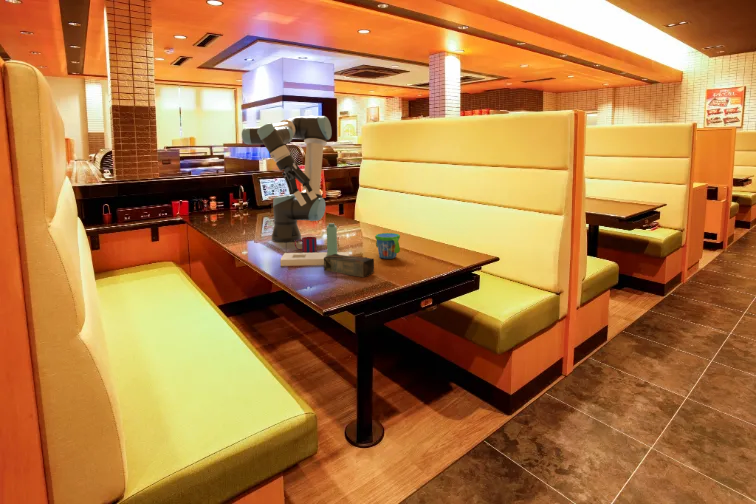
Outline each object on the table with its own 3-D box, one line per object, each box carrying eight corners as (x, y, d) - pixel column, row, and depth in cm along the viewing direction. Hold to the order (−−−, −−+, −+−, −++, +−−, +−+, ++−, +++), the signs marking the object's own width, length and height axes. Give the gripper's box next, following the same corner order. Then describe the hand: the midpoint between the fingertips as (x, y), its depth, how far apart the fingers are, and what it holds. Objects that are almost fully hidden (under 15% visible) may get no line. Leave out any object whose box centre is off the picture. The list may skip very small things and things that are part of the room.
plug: (328, 260, 205) (326, 222, 201) (337, 260, 205) (336, 222, 202) (327, 262, 201) (326, 224, 198) (337, 262, 201) (336, 224, 198)
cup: (317, 253, 220) (316, 239, 218) (294, 254, 218) (294, 239, 217) (316, 250, 226) (316, 236, 224) (295, 251, 225) (294, 236, 223)
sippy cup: (369, 255, 216) (369, 232, 214) (390, 252, 221) (390, 231, 218) (384, 262, 202) (384, 239, 200) (406, 260, 207) (406, 236, 205)
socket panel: (284, 259, 208) (284, 253, 207) (349, 258, 210) (349, 252, 209) (280, 266, 196) (280, 259, 196) (349, 265, 198) (348, 258, 197)
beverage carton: (334, 267, 196) (334, 251, 195) (375, 273, 187) (375, 257, 185) (323, 272, 189) (322, 255, 188) (364, 278, 180) (364, 261, 179)
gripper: (268, 169, 213) (293, 210, 217) (284, 154, 191) (311, 200, 195) (281, 162, 217) (306, 203, 220) (299, 146, 195) (326, 191, 198)
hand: (308, 201), depth 208 cm, fingers open, 13 cm apart
